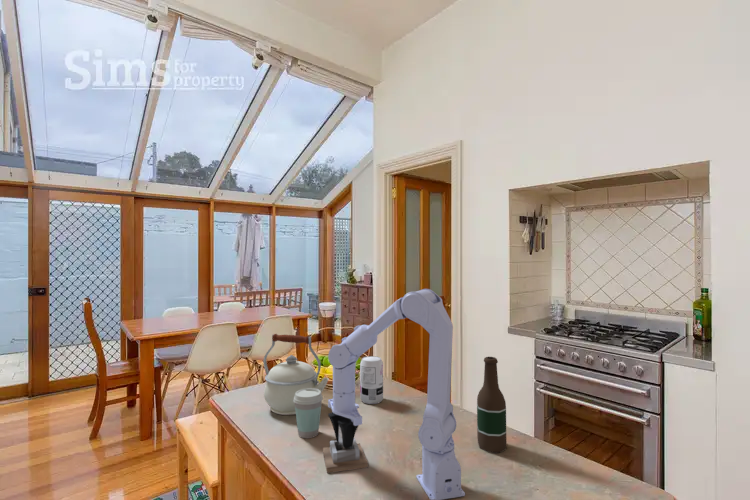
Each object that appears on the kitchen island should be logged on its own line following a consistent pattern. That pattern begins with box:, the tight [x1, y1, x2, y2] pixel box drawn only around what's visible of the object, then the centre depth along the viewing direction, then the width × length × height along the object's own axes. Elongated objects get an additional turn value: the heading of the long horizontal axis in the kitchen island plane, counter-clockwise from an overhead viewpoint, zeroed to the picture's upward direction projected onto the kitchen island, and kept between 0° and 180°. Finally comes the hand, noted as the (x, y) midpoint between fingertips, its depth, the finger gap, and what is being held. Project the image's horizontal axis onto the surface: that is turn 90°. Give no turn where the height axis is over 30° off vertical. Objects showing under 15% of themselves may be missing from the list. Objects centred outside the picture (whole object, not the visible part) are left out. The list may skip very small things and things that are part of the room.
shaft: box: [338, 426, 351, 451], centre depth 98 cm, size 3×3×7 cm
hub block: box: [322, 437, 369, 474], centre depth 98 cm, size 10×10×4 cm
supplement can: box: [359, 355, 384, 405], centre depth 139 cm, size 8×8×15 cm
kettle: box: [262, 333, 330, 416], centre depth 133 cm, size 25×18×25 cm
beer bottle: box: [476, 356, 507, 454], centre depth 105 cm, size 8×8×24 cm
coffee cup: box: [293, 388, 324, 439], centre depth 113 cm, size 8×8×12 cm
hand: (344, 443), depth 98 cm, fingers closed on shaft, 3 cm apart
